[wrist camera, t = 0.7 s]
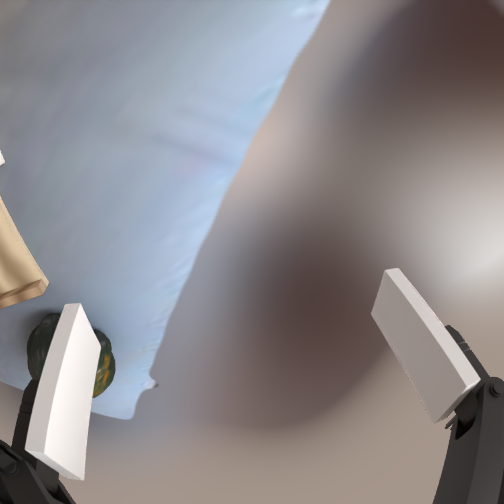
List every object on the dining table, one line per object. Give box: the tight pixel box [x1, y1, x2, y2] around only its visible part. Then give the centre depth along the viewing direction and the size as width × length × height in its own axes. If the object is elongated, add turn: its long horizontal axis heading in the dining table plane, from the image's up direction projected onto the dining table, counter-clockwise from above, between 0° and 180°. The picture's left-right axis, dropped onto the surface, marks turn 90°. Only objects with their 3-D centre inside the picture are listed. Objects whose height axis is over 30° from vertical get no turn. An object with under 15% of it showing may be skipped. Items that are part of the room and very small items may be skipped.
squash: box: [27, 314, 115, 398], centre depth 40 cm, size 14×15×15 cm
